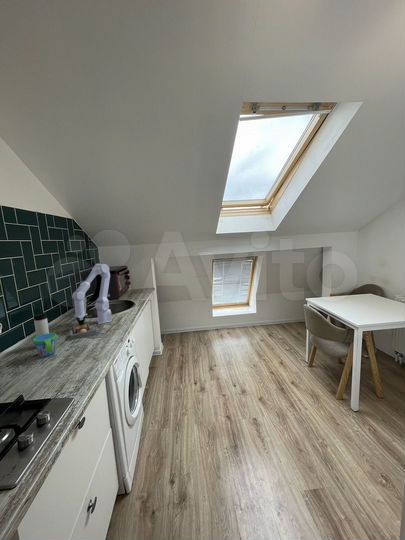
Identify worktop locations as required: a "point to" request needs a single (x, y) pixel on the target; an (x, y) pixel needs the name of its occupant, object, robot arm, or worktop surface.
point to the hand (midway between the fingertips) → (81, 327)
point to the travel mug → (41, 324)
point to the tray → (83, 334)
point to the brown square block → (82, 328)
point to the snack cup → (45, 344)
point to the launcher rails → (75, 329)
